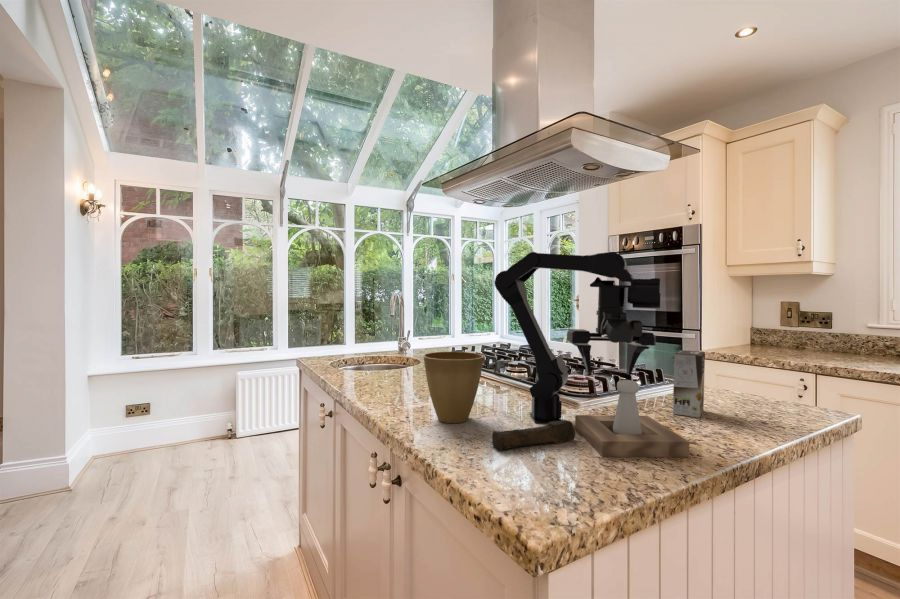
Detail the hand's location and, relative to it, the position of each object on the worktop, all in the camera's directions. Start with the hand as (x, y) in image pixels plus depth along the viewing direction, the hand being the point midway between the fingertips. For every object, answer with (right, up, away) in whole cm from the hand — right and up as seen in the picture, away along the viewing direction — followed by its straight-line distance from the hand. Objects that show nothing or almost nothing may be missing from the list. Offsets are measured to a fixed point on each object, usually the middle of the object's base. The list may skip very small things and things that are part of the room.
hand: (608, 374), depth 98 cm
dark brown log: (-19, -13, -10) cm, 25 cm away
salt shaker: (+1, -13, -8) cm, 15 cm away
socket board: (+1, -13, -8) cm, 15 cm away
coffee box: (+27, -13, +14) cm, 33 cm away
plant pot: (-36, -13, +7) cm, 39 cm away
